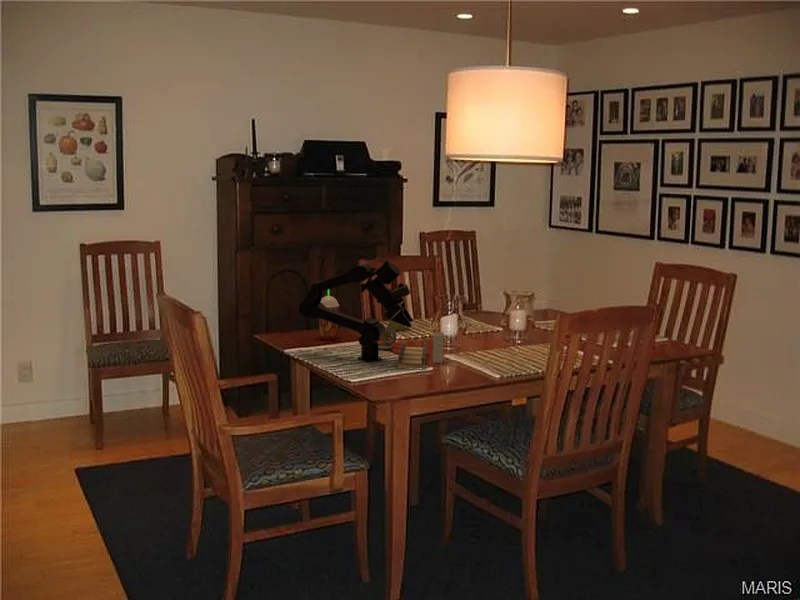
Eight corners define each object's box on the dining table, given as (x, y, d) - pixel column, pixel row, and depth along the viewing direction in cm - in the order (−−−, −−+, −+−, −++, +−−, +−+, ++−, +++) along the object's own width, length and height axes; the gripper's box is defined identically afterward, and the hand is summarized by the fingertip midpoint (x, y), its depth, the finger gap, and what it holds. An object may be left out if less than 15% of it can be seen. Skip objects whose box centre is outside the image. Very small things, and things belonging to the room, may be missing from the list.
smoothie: (319, 336, 345) (319, 287, 342) (340, 336, 345) (340, 287, 341) (316, 340, 337) (316, 290, 334) (337, 341, 337) (338, 291, 333)
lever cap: (432, 363, 306) (433, 335, 304) (433, 359, 311) (433, 332, 309) (444, 363, 306) (445, 336, 304) (445, 359, 311) (445, 333, 309)
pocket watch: (375, 350, 323) (375, 324, 321) (374, 345, 331) (375, 319, 329) (396, 350, 323) (397, 324, 321) (396, 345, 332) (396, 320, 330)
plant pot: (412, 328, 361) (412, 308, 360) (400, 332, 353) (400, 312, 352) (393, 326, 366) (394, 306, 365) (381, 330, 358) (381, 309, 357)
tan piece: (424, 369, 297) (424, 358, 296) (398, 368, 297) (398, 357, 297) (426, 352, 320) (426, 342, 320) (402, 352, 321) (402, 341, 320)
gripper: (395, 281, 294) (426, 313, 295) (398, 273, 312) (428, 303, 314) (372, 303, 296) (403, 335, 297) (377, 294, 314) (406, 324, 316)
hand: (411, 323), depth 306 cm, fingers open, 9 cm apart
